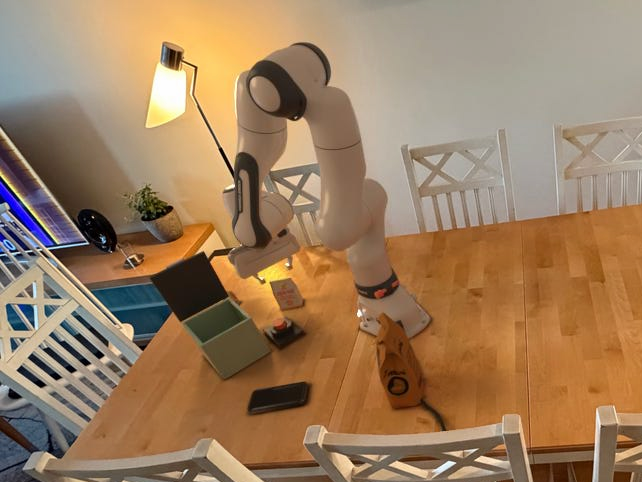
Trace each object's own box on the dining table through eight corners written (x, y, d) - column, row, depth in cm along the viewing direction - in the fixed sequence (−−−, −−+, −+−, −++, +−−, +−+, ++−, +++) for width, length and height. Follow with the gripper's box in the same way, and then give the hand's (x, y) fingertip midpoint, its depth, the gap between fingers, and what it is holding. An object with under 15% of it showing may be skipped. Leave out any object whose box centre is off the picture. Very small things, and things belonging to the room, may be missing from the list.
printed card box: (283, 303, 166) (270, 278, 159) (303, 299, 166) (291, 274, 159) (281, 310, 163) (268, 285, 156) (301, 306, 163) (289, 281, 156)
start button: (288, 325, 151) (286, 321, 150) (278, 332, 150) (275, 327, 149) (283, 321, 154) (280, 316, 152) (272, 327, 152) (270, 322, 151)
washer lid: (204, 252, 136) (197, 244, 138) (149, 278, 129) (143, 270, 131) (229, 296, 149) (222, 289, 151) (180, 322, 142) (173, 314, 144)
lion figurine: (250, 319, 162) (237, 296, 156) (234, 326, 160) (220, 304, 154) (239, 298, 172) (226, 277, 165) (223, 305, 170) (210, 283, 164)
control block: (304, 334, 152) (300, 326, 150) (281, 349, 149) (276, 340, 147) (288, 320, 159) (283, 311, 156) (265, 333, 155) (260, 325, 153)
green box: (271, 351, 149) (251, 317, 140) (224, 379, 142) (200, 346, 134) (248, 329, 158) (229, 297, 149) (204, 355, 152) (180, 323, 143)
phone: (303, 402, 130) (246, 411, 130) (304, 405, 131) (248, 414, 131) (307, 380, 136) (253, 389, 136) (309, 383, 136) (254, 392, 137)
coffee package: (385, 413, 125) (359, 348, 110) (388, 377, 134) (364, 313, 119) (425, 407, 125) (404, 341, 110) (425, 371, 134) (405, 306, 119)
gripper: (229, 256, 141) (250, 296, 151) (293, 225, 150) (309, 264, 160) (220, 249, 145) (241, 288, 154) (283, 219, 154) (300, 257, 163)
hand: (277, 276), depth 157 cm, fingers open, 8 cm apart
